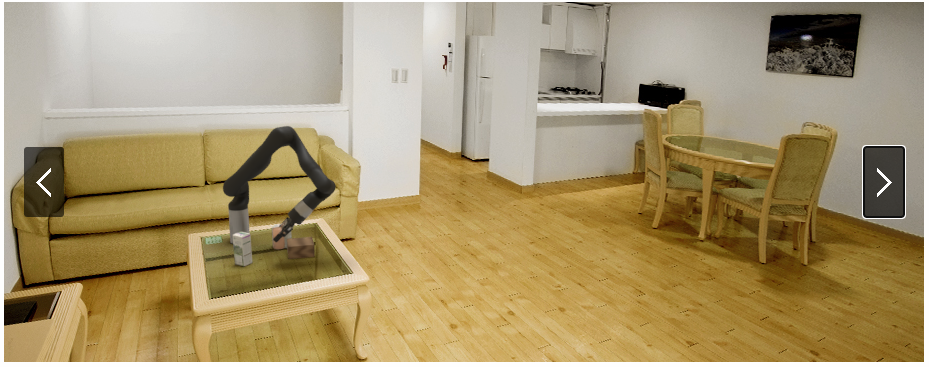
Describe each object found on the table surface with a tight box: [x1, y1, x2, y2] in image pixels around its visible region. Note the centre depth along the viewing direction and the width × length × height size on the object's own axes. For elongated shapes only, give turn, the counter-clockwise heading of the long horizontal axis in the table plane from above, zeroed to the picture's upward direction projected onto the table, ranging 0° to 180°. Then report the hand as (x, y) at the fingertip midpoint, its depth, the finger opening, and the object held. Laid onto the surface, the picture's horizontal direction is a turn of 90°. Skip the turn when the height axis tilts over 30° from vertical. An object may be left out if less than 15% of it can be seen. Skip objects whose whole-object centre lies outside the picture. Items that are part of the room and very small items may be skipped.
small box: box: [271, 223, 293, 249], centre depth 304 cm, size 8×6×10 cm
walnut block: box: [286, 236, 316, 260], centre depth 295 cm, size 12×12×6 cm
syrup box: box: [232, 232, 253, 267], centre depth 280 cm, size 6×6×14 cm
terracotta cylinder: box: [272, 227, 286, 250], centre depth 279 cm, size 5×5×9 cm
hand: (274, 238), depth 279 cm, fingers closed on terracotta cylinder, 5 cm apart
